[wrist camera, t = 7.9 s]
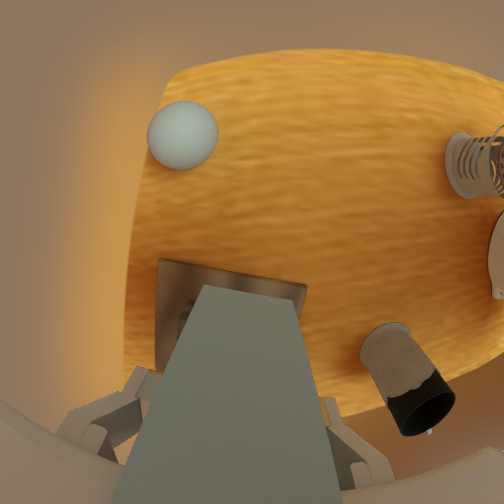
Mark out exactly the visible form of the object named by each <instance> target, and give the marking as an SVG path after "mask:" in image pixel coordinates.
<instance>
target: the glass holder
mask: <svg viewBox="0 0 504 504" xmlns="http://www.w3.org/2000/svg"><path fill="white" fill-rule="evenodd" d="M360 360H361V363H362V364H363V365H364V366H365V367H366V368H368V370H369V372H370V374H371V376H372V378H373V380H374V382H375V384H376V386H377V388H378V390H379V392H380V394H381V396H382V398H383V400H384V402H385V404H386V406H387V408H388V410H390V411H391V413H392V415H393V417H394V419H395V421H396V424H397V426H398V428H399V430H400V432H401V434H402V435H404V436H415V435H418V434H421V433H423V432H425V433H426V434H427V435H429V434H431V432H432V429H431V428H432V427H434V426H435V425H436V424H438V423H439V422H440V421H441V420H442V419H443V418H444V417H445V416H446V415H447V414H448V413H449V411H450V410H451V408H452V407H453V405H454V403H455V398H456V397H455V394H454V393H453V391H452V390H451V389H450V387H449V386H448V385H447V383H446V382H445V381H444V379H443V378H442V377H441V375H440V372H439V371H438V369H437V368H436V367H435V365H434V364H433V363H432V362H431V360H430V359H429V358H428V357H427V355H426V354H425V353H424V352H423V351H422V349H421V348H420V347H419V346H418V344H417V343H416V342H415V341H414V340H413V338H412V337H411V335H410V331H409V329H408V328H407V327H406V326H405V325H404V324H402V323H398V322H391V323H387V324H384V325H382V326H380V327H378V328H377V329H375V330H374V331H373V332H372V333H370V334H369V335H368V337H367V338H366V339H365V341H364V342H363V344H362V346H361V349H360Z"/></svg>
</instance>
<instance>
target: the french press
mask: <svg viewBox="0 0 504 504" xmlns="http://www.w3.org/2000/svg"><path fill="white" fill-rule="evenodd" d="M503 127H504V125H503V126H501V127H500V128H499V129H498V130H497V131H496V132H495V134H494V135H493V137H480V138H473V137H472V136H470V135H469V134H467V133H460V132H459V133H457V134H455V135H454V136H452V137H451V139H450V141H449V142H448V144H447V147H446V154H445V165H446V173H447V176H448V178H449V181H450V184H451V186H452V187H453V189H454V190H455V191H456V193H457V194H458V195H460V196H462V197H463V198H465V199H469V198H474V197H476V196H477V195H478V194H485V195H490V196H496V197H502V198H504V193H503V194H501V195H499V193H501V192H502V191H503V190H504V137H501V136H496V134H497V133H498V131H499V130H500V129H501V128H503ZM486 142H487V143H486ZM492 142H500V143H499V145H498V146H491V145H492ZM478 143H480V144H478ZM483 143H486V145H485V146H482V145H483ZM491 161H493V162H494V165H495V167H496V178H495V182H494V183H493V181H492V180H493V177H494V171H493V165H492V163H491ZM496 161H497V162H498V164H497V162H496ZM499 176H500V180H501V182H500V184H499V185H498V186H497V187H496V188H495V185H496V184H497V182H498V179H499ZM501 185H502V186H503V188H502V189H500V190H499V191H498V192H497V189H498V188H499V187H500V186H501Z"/></svg>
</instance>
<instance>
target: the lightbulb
mask: <svg viewBox="0 0 504 504" xmlns="http://www.w3.org/2000/svg"><path fill="white" fill-rule="evenodd" d="M217 141H218V126H217V123H216V120H215V118H214V116H213V115H212V113H211V112H210V111H209V110H208V109H207V108H205V107H204V106H202V105H200V104H198V103H195V102H191V101H178V102H174V103H171V104H169V105H166V106H165V107H163V108H162V109H161V110H159V111H158V112H157V113H156V115H155V116H154V117H153V118H152V120H151V123H150V125H149V128H148V132H147V143H148V146H149V150H150V152H151V154H152V155H153V157H154V158H155V159H156V160H157V161H158V162H159V163H161V164H162V165H163V166H165V167H167V168H170V169H174V170H187V169H191V168H194V167H197V166H198V165H200V164H202V163H203V162H204V161H206V160H207V159H208V158H209V156H210V155H211V154H212V153H213V151H214V149H215V147H216V144H217Z"/></svg>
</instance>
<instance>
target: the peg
mask: <svg viewBox="0 0 504 504" xmlns="http://www.w3.org/2000/svg"><path fill="white" fill-rule="evenodd" d="M111 504H343V502H342V497H341V492H340V487H339V483H338V478H337V474H336V469H335V465H334V460H333V456H332V452H331V447H330V443H329V439H328V435H327V431H326V426H325V422H324V418H323V414H322V410H321V406H320V402H319V398H318V394H317V390H316V386H315V382H314V378H313V375H312V371H311V367H310V363H309V359H308V355H307V352H306V348H305V344H304V341H303V337H302V333H301V330H300V326H299V322H298V319H297V315H296V311H295V308H294V304H293V301H292V300H288V299H281V298H276V297H270V296H264V295H258V294H253V293H247V292H242V291H236V290H231V289H225V288H220V287H215V286H210V285H205V284H204V285H203V288H202V290H201V292H200V294H199V296H198V298H197V300H196V302H195V305H194V307H193V309H192V311H191V313H190V315H189V317H188V320H187V322H186V324H185V326H184V328H183V331H182V333H181V335H180V337H179V339H178V342H177V344H176V346H175V348H174V350H173V353H172V355H171V357H170V359H169V362H168V364H167V366H166V369H165V371H164V373H163V375H162V378H161V380H160V382H159V385H158V387H157V389H156V392H155V394H154V396H153V399H152V401H151V403H150V406H149V408H148V410H147V413H146V415H145V418H144V420H143V422H142V425H141V427H140V430H139V432H138V435H137V437H136V440H135V442H134V445H133V447H132V450H131V452H130V455H129V457H128V460H127V462H126V465H125V467H124V470H123V472H122V475H121V478H120V480H119V483H118V486H117V488H116V491H115V494H114V496H113V499H112V502H111Z"/></svg>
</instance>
